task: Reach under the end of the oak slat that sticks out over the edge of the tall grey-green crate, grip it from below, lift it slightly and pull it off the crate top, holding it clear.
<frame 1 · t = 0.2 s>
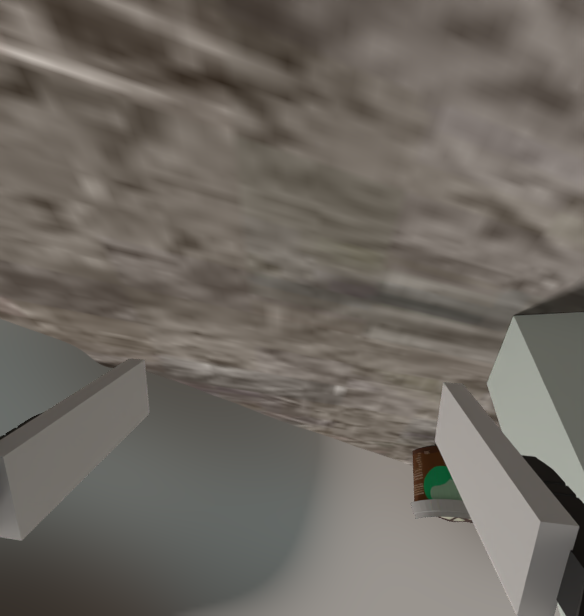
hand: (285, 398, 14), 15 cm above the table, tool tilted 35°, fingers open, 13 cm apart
food container: (448, 449, 54), on the table
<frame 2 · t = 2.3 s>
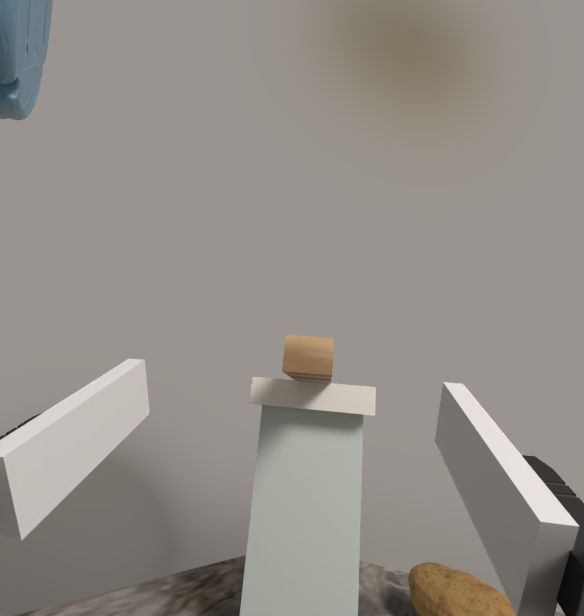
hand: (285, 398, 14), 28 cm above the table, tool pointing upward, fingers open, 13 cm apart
oak slat: (314, 383, 41), point 30 cm above the table, touching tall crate
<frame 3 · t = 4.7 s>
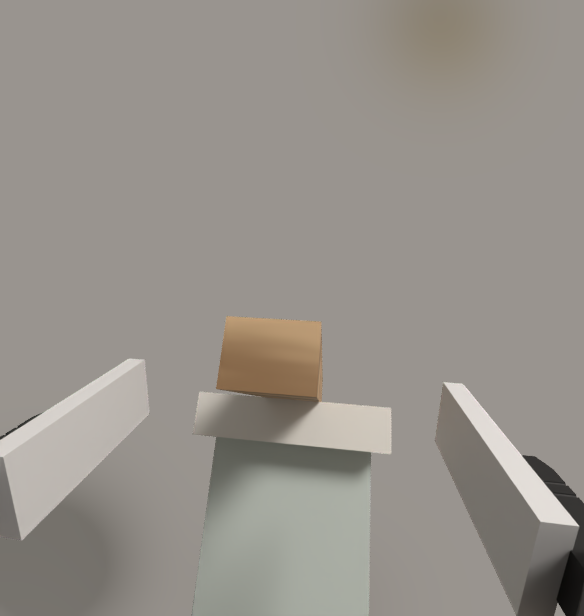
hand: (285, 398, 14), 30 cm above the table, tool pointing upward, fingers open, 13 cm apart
oak slat: (295, 400, 27), point 30 cm above the table, touching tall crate
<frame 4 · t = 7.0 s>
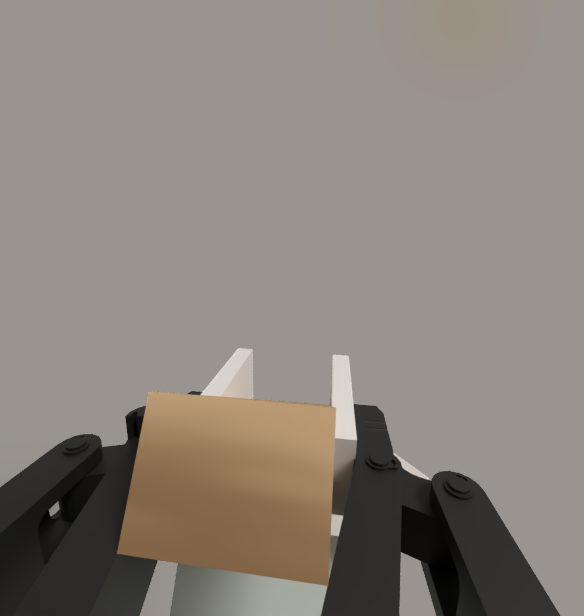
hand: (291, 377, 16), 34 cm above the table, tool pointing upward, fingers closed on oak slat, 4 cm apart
oak slat: (294, 453, 20), point 30 cm above the table, touching gripper, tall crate
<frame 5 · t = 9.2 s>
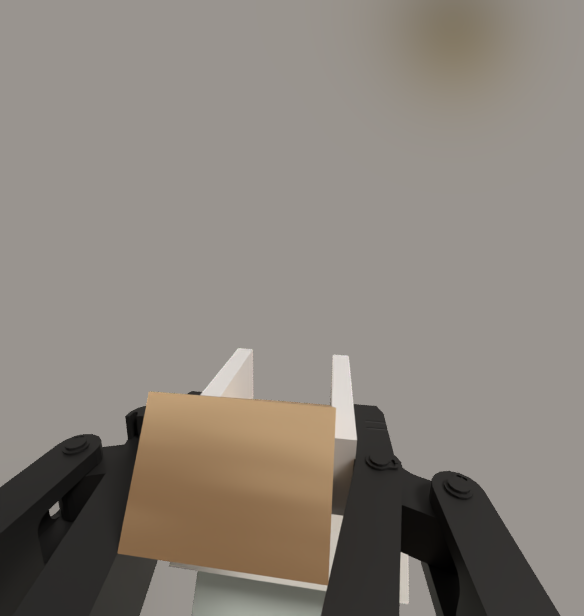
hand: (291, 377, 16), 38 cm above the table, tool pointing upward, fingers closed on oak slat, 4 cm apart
oak slat: (294, 453, 20), point 34 cm above the table, touching gripper
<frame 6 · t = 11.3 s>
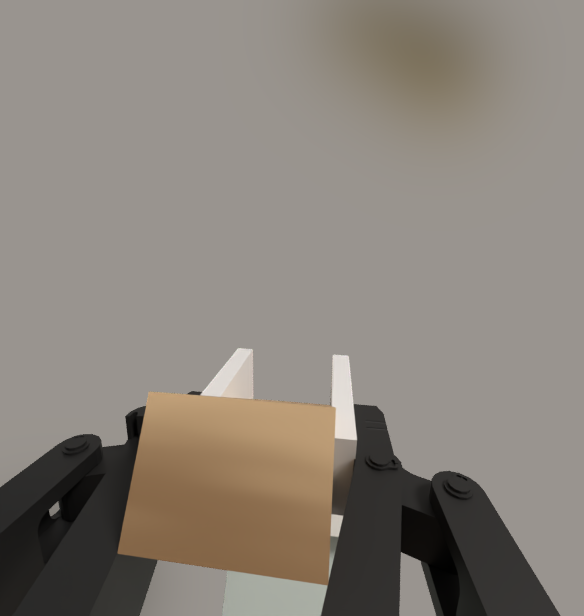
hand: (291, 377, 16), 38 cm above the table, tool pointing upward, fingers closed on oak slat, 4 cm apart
oak slat: (294, 453, 20), point 34 cm above the table, touching gripper
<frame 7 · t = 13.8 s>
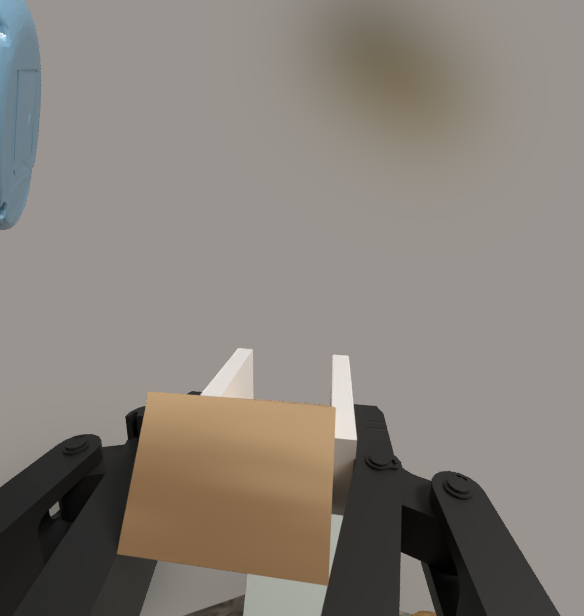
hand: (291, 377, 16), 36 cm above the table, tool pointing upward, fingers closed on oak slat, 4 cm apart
oak slat: (294, 453, 20), point 31 cm above the table, touching gripper
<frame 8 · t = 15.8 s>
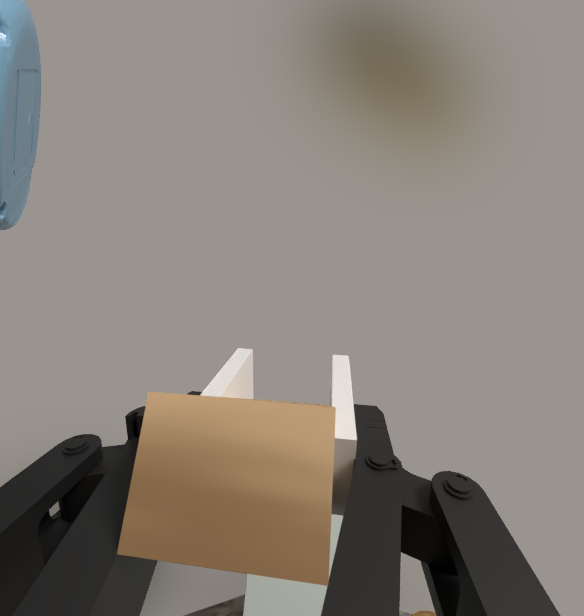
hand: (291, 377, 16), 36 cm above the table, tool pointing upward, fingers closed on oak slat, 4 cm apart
oak slat: (294, 453, 20), point 31 cm above the table, touching gripper
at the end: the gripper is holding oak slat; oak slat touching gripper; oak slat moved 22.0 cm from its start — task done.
